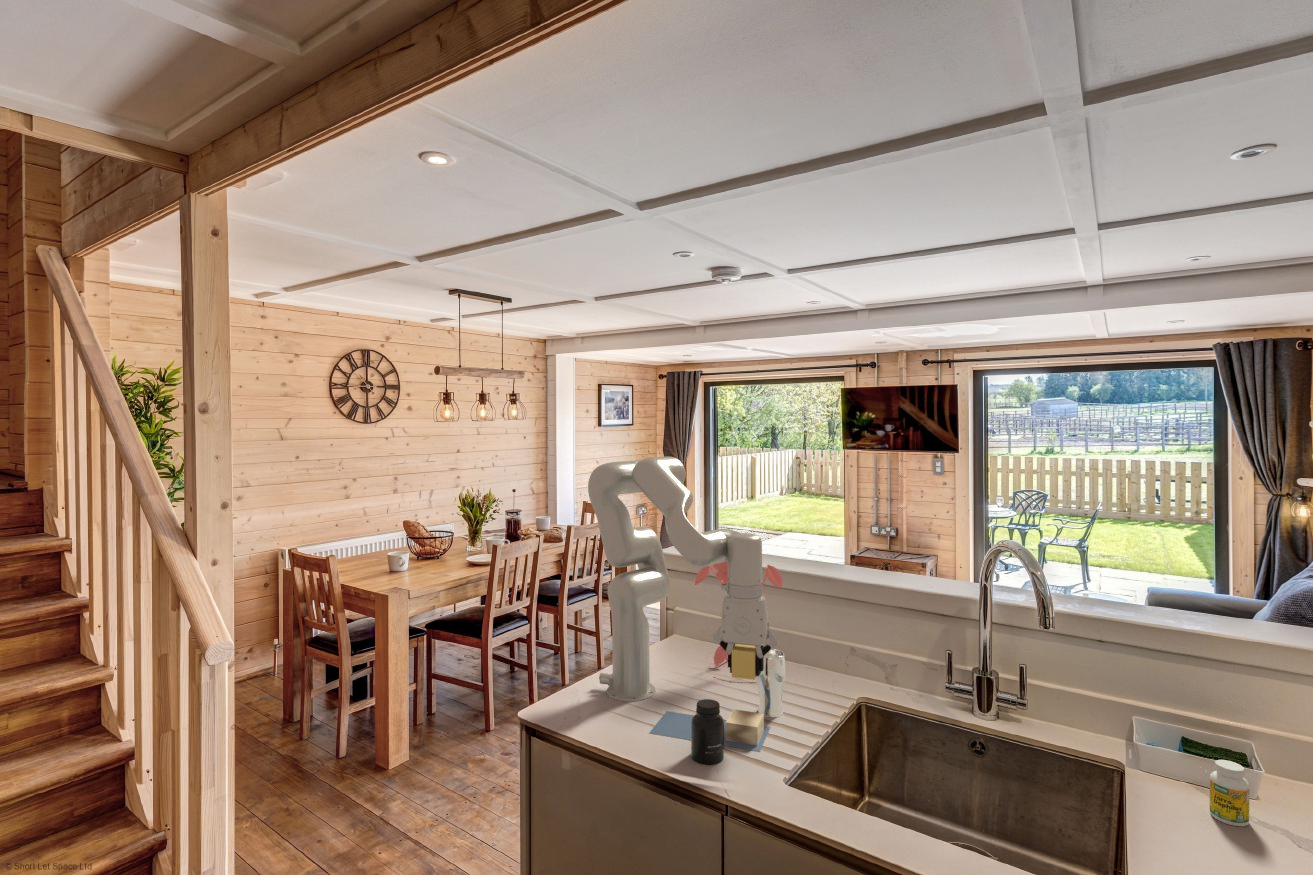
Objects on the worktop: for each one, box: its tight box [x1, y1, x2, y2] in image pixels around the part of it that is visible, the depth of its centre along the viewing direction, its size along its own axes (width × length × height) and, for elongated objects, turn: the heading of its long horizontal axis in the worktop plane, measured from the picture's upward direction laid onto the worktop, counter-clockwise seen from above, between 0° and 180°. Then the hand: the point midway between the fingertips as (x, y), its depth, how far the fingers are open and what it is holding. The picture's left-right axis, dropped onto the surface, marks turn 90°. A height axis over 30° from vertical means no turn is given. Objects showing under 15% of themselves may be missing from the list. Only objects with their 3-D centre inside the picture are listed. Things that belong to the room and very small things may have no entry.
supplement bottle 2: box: [1209, 759, 1251, 827], centre depth 120 cm, size 5×5×10 cm
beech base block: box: [726, 708, 765, 746], centre depth 150 cm, size 7×7×4 cm
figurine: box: [694, 562, 783, 684], centre depth 188 cm, size 15×26×35 cm, turn 67°
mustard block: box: [731, 644, 757, 681], centre depth 149 cm, size 5×5×6 cm
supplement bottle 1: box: [690, 698, 725, 766], centre depth 141 cm, size 7×7×12 cm
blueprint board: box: [648, 710, 771, 753], centre depth 153 cm, size 25×12×1 cm, turn 70°
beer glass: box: [755, 648, 786, 718], centre depth 162 cm, size 7×7×15 cm
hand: (745, 671), depth 149 cm, fingers closed on mustard block, 5 cm apart
